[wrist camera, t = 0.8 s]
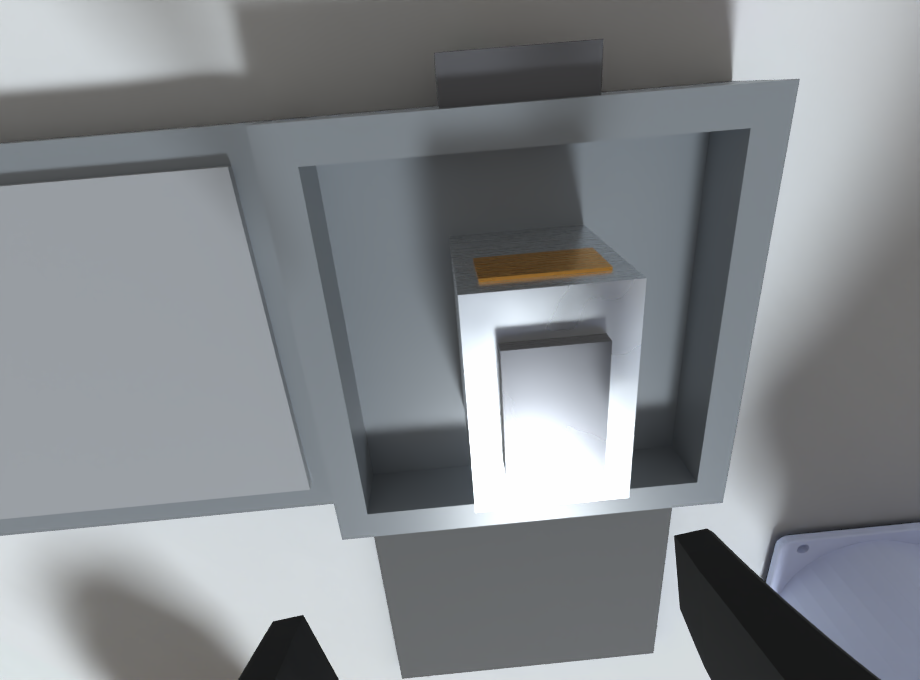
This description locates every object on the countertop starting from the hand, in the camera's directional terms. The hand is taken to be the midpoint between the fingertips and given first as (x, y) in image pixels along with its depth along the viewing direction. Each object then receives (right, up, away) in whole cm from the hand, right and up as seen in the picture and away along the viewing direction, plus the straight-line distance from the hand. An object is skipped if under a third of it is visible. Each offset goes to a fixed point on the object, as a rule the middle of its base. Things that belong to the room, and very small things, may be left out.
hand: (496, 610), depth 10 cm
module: (+1, +6, +7) cm, 9 cm away
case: (-5, +6, +7) cm, 11 cm away
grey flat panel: (+2, -5, +13) cm, 15 cm away
